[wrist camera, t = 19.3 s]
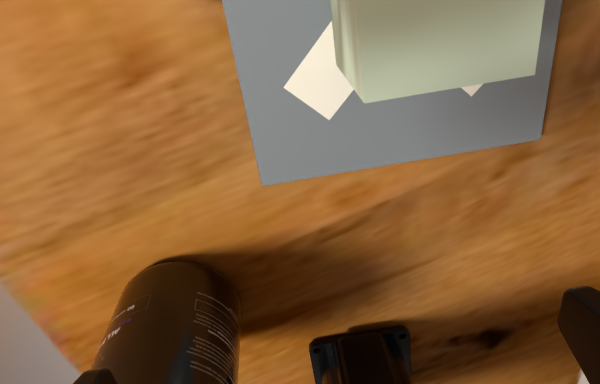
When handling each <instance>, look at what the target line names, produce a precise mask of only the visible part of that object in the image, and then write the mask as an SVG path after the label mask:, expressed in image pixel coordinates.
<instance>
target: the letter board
mask: <svg viewBox="0 0 600 384" xmlns="http://www.w3.org/2000/svg"><path fill="white" fill-rule="evenodd" d="M222 3H223V8H224V12H225V17H226V22H227V26H228V31H229V35H230V40H231V45H232V49H233V54H234V59H235V63H236V68H237V73H238V77H239V82H240V86H241V91H242V96H243V100H244V105H245V110H246V114H247V119H248V124H249V128H250V133H251V138H252V142H253V147H254V151H255V156H256V161H257V165H258V170H259V175H260V179H261V184H262V186H267V185H273V184H279V183H285V182H291V181H297V180H302V179H308V178H314V177H320V176H326V175H332V174H338V173H344V172H350V171H356V170H362V169H368V168H374V167H380V166H386V165H392V164H398V163H404V162H410V161H416V160H422V159H428V158H434V157H440V156H446V155H452V154H458V153H464V152H470V151H476V150H482V149H488V148H494V147H500V146H506V145H512V144H518V143H524V142H530V141H536V140H540V139H541V133H542V127H543V120H544V114H545V108H546V101H547V95H548V89H549V82H550V76H551V70H552V63H553V57H554V51H555V44H556V38H557V31H558V25H559V19H560V12H561V6H562V0H545V5H544V12H543V19H542V27H541V34H540V41H539V48H538V56H537V63H536V70H535V75H532V76H526V77H520V78H514V79H508V80H502V81H496V82H490V83H484V84H478V85H472V86H466V87H460V88H454V89H448V90H442V91H436V92H430V93H424V94H418V95H412V96H406V97H400V98H394V99H388V100H382V101H376V102H370V103H363V101H362V100H361V99H360V97H359V96H358V94H357V93H356V92H355V90H354V89H353V87H352V86H351V85H350V83H349V82H348V80H347V79H346V78H345V76H344V75H343V74H342V72H341V71H340V69H339V68H338V67H337V65H336V58H335V48H334V38H333V28H332V17H331V7H330V0H222Z"/></svg>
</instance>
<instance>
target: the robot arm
mask: <svg viewBox="0 0 600 384" xmlns="http://www.w3.org/2000/svg"><path fill="white" fill-rule="evenodd" d="M558 325H559V328H560V331H561V333H562V334H563V336H564V338H565V340H566V342H567V344H568V345H569V347H570V349H571V351H572V353H573V354H574V356H575V358H576V360H577V362H578V363H579V365H580V367H581V369H582V371H583V373H584V374H585V376H586V378H587V380H588V382H589V383H590V384H600V291H598V290H596V289H594V288H592V287H589V286H581V287H576V288H570V289H567V290H566V291H565V292H564V294H563V297H562V302H561V306H560V310H559V314H558ZM309 352H310V357H311V362H312V368H313V373H314V378H315V383H316V384H413V383H412V381H411V359H410V333H409V331H408V328H407V327H405V326H398V327H392V328H386V329H380V330H374V331H368V332H363V333H357V334H351V335H345V336H339V337H333V338H327V339H321V340H315V341H312V342H311V343H310V344H309ZM73 384H118V383H117V381H116V379H115V378H114V376H113V374H112V372H111V371H110V370H109V369H108V368H98V369H92V370H88V371H85V372H84V373H83V374H82V375H81V376H80V377H79V378H78V379H77V380H76V381H75V382H74V383H73Z"/></svg>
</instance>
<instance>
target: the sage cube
mask: <svg viewBox="0 0 600 384" xmlns="http://www.w3.org/2000/svg"><path fill="white" fill-rule="evenodd" d="M544 5H545V0H330V7H331V17H332V28H333V38H334V48H335V58H336V65H337V67H338V68H339V69H340V71H341V72H342V74H343V75H344V76H345V78H346V79H347V80H348V82H349V83H350V85H351V86H352V87H353V89H354V90H355V92H356V93H357V94H358V96H359V97H360V99H361V100H362V101H363V103H370V102H376V101H382V100H388V99H394V98H400V97H406V96H412V95H418V94H424V93H430V92H436V91H442V90H448V89H454V88H460V87H466V86H472V85H478V84H484V83H490V82H496V81H502V80H508V79H514V78H520V77H526V76H532V75H535V70H536V63H537V56H538V48H539V41H540V34H541V27H542V19H543V12H544Z"/></svg>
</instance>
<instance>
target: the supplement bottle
mask: <svg viewBox="0 0 600 384" xmlns="http://www.w3.org/2000/svg"><path fill="white" fill-rule="evenodd" d="M240 331H241V303H240V299H239V296H238V293H237V291H236V290H235V288H234V287H233V285H232V284H231V283H230V282H229V281H228V280H227V279H226V278H225V277H224V276H223V275H221V274H220V273H219V272H217V271H215V270H213V269H211V268H209V267H207V266H204V265H201V264H197V263H192V262H183V261H174V262H166V263H161V264H157V265H154V266H151V267H149V268H147V269H145V270H143V271H141V272H140V273H138V274H137V275H136V276H135V277H134V278H132V279H131V281H130V282H129V283H128V284H127V286H126V287H125V289H124V291H123V293H122V295H121V297H120V299H119V302H118V304H117V306H116V309H115V311H114V313H113V316H112V318H111V321H110V323H109V326H108V328H107V331H106V333H105V336H104V338H103V340H102V343H101V345H100V348H99V350H98V353H97V355H96V358H95V360H94V363H93V365H92V367H91V370H92V369H98V368H108V369H109V370H110V371H111V372H112V374H113V376H114V378H115V379H116V381H117V383H118V384H238V367H239V349H240Z"/></svg>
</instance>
